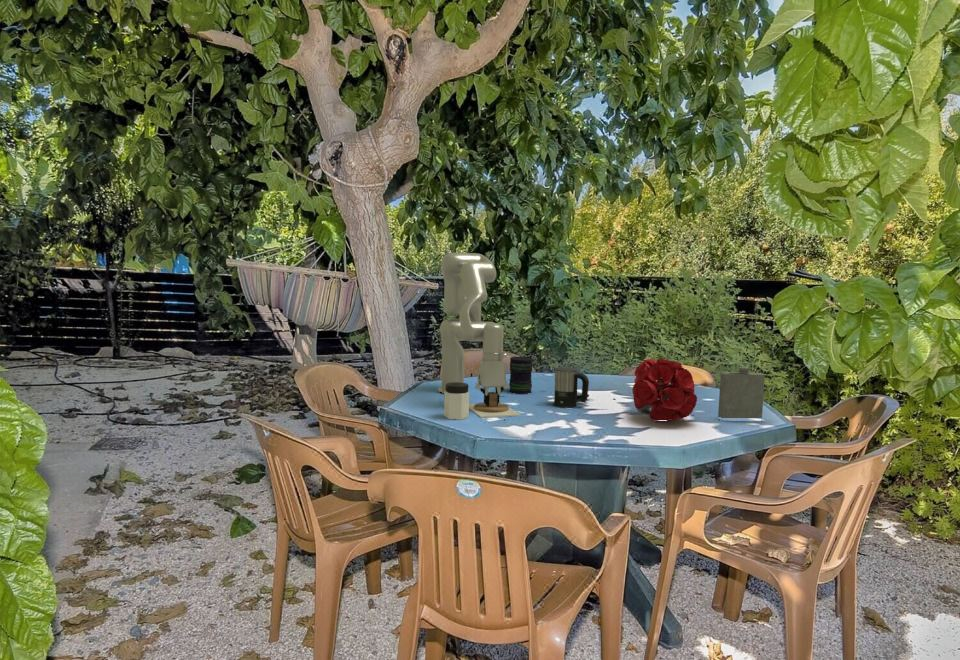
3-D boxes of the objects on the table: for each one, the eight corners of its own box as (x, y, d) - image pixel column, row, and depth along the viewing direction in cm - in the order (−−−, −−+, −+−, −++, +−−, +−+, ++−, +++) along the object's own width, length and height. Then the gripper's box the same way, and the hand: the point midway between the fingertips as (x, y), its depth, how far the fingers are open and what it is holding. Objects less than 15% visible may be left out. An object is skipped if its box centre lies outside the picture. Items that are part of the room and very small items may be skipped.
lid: (470, 405, 237) (470, 390, 237) (502, 404, 241) (502, 389, 241) (480, 413, 225) (480, 397, 224) (513, 411, 229) (513, 395, 228)
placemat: (465, 405, 240) (465, 404, 239) (502, 404, 244) (502, 402, 244) (480, 418, 221) (480, 416, 220) (520, 416, 225) (520, 414, 225)
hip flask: (759, 419, 228) (763, 366, 226) (764, 422, 224) (768, 368, 222) (716, 419, 228) (719, 365, 225) (720, 421, 223) (724, 367, 221)
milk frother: (552, 407, 241) (553, 369, 239) (554, 398, 256) (555, 363, 255) (589, 409, 238) (590, 371, 237) (588, 400, 254) (590, 365, 252)
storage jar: (509, 389, 274) (510, 356, 272) (531, 390, 273) (532, 357, 271) (508, 393, 264) (509, 359, 262) (531, 394, 263) (532, 360, 261)
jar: (441, 415, 224) (441, 382, 222) (461, 413, 227) (462, 381, 226) (450, 421, 215) (451, 387, 214) (471, 419, 219) (472, 385, 218)
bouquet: (618, 430, 234) (648, 407, 206) (614, 372, 243) (642, 343, 216) (672, 434, 236) (709, 412, 209) (666, 376, 246) (701, 348, 218)
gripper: (509, 355, 237) (508, 401, 239) (469, 355, 232) (468, 403, 234) (516, 357, 230) (515, 406, 232) (474, 358, 225) (473, 408, 227)
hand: (491, 404), depth 233 cm, fingers closed on lid, 3 cm apart
